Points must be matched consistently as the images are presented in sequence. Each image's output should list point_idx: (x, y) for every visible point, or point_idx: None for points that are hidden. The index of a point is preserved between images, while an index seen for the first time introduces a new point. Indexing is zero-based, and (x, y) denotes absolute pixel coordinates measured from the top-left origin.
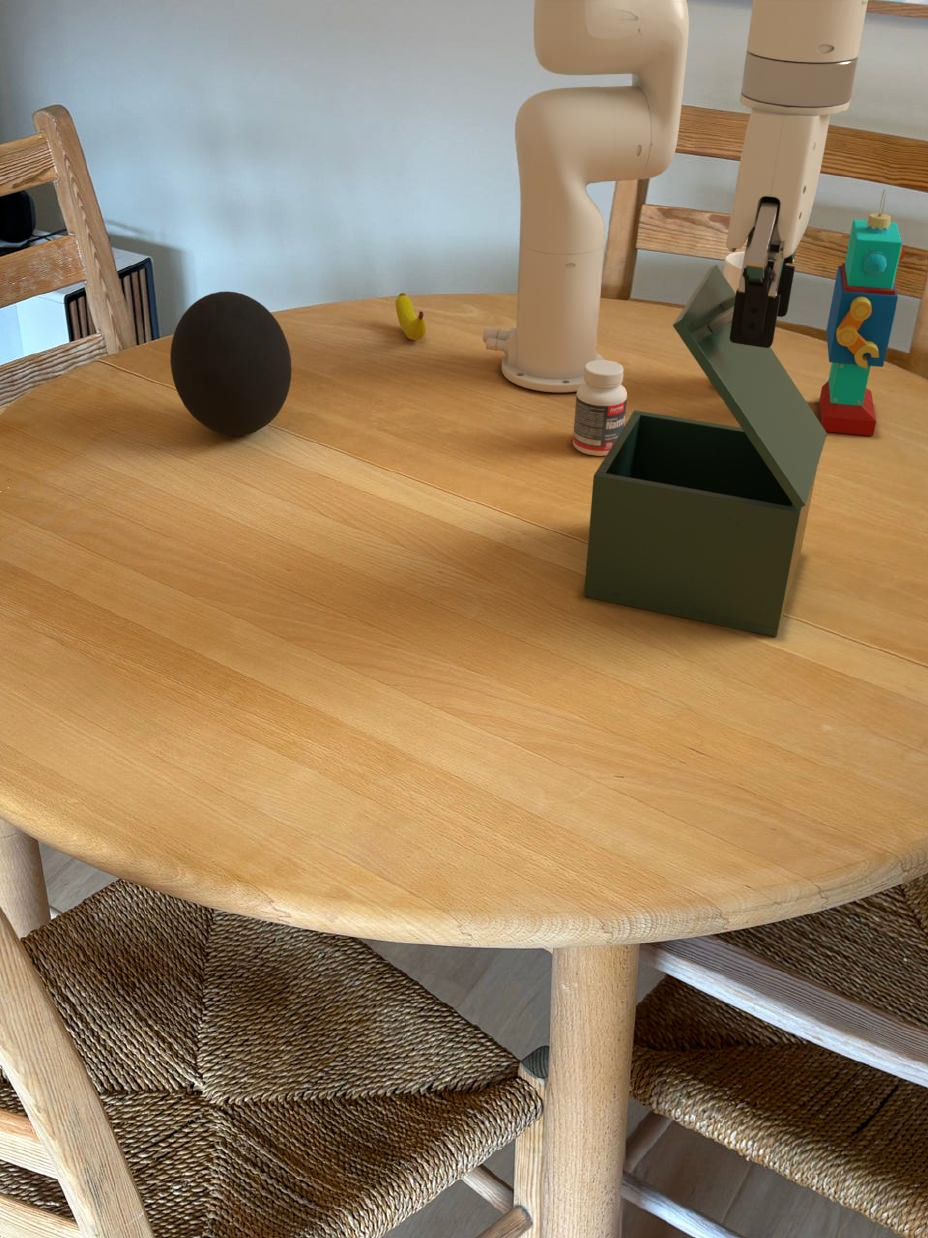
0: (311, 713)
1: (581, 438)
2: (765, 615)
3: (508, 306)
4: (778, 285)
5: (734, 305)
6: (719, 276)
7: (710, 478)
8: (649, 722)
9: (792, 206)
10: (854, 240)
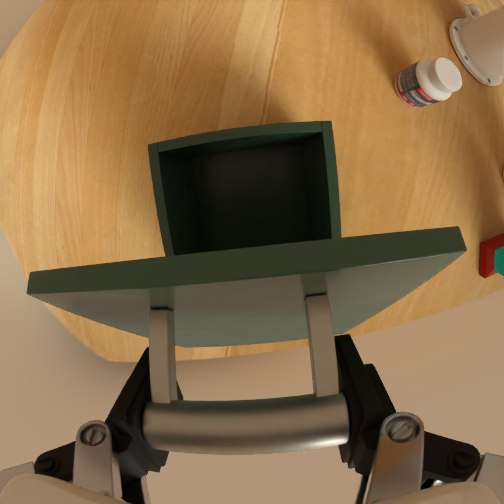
0: (40, 100)
1: (399, 75)
2: None
3: None
4: (146, 484)
5: (121, 393)
6: (427, 266)
7: (317, 214)
8: (96, 245)
9: None
10: None
